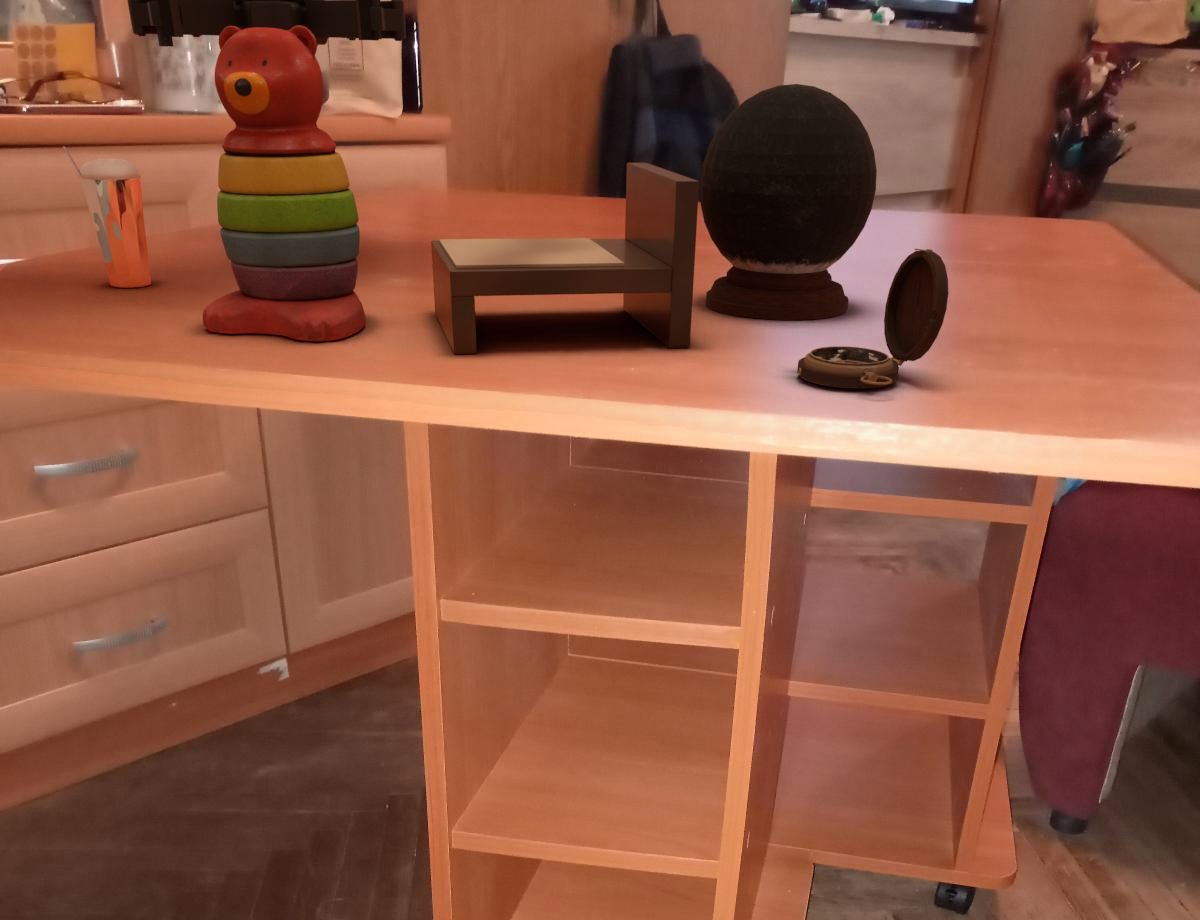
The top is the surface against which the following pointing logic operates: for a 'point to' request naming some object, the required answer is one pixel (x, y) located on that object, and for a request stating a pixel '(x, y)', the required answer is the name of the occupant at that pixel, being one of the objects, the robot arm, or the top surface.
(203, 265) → the top surface
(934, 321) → the compass
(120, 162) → the milkshake
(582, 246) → the dollhouse bed
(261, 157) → the stacking bear
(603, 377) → the top surface
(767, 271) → the dark ball on base
